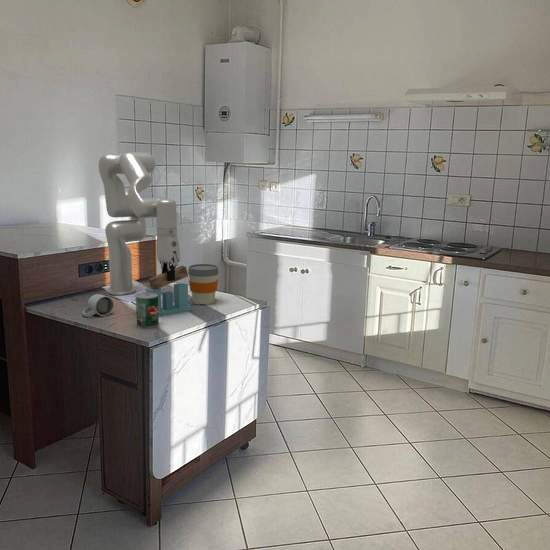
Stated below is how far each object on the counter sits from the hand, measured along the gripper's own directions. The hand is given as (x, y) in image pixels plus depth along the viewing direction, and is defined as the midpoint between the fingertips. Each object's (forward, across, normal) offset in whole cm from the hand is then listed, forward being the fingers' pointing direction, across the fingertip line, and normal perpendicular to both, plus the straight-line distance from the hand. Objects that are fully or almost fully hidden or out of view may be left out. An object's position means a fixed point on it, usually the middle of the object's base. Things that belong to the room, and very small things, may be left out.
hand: (168, 279), depth 216 cm
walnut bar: (+1, 0, -1) cm, 1 cm away
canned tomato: (+14, -8, +14) cm, 21 cm away
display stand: (+13, +1, 0) cm, 13 cm away
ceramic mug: (+14, +15, +23) cm, 30 cm away
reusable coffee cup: (+14, +6, -20) cm, 25 cm away
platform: (+14, +18, -3) cm, 23 cm away
